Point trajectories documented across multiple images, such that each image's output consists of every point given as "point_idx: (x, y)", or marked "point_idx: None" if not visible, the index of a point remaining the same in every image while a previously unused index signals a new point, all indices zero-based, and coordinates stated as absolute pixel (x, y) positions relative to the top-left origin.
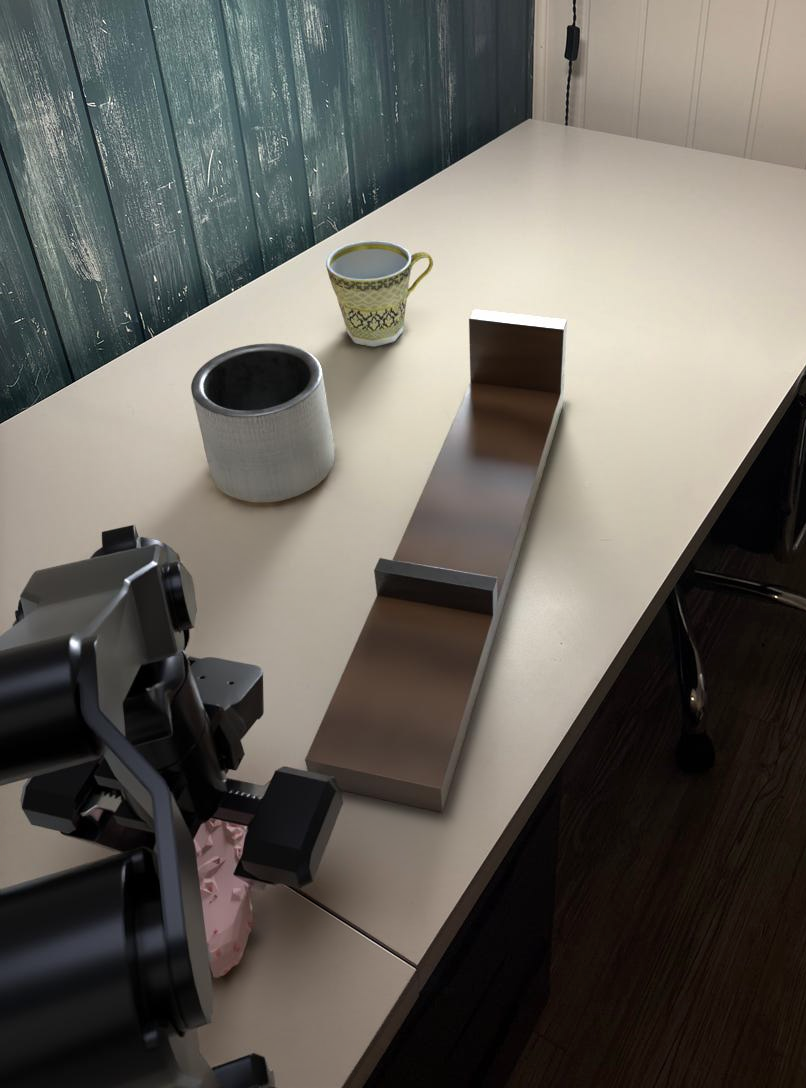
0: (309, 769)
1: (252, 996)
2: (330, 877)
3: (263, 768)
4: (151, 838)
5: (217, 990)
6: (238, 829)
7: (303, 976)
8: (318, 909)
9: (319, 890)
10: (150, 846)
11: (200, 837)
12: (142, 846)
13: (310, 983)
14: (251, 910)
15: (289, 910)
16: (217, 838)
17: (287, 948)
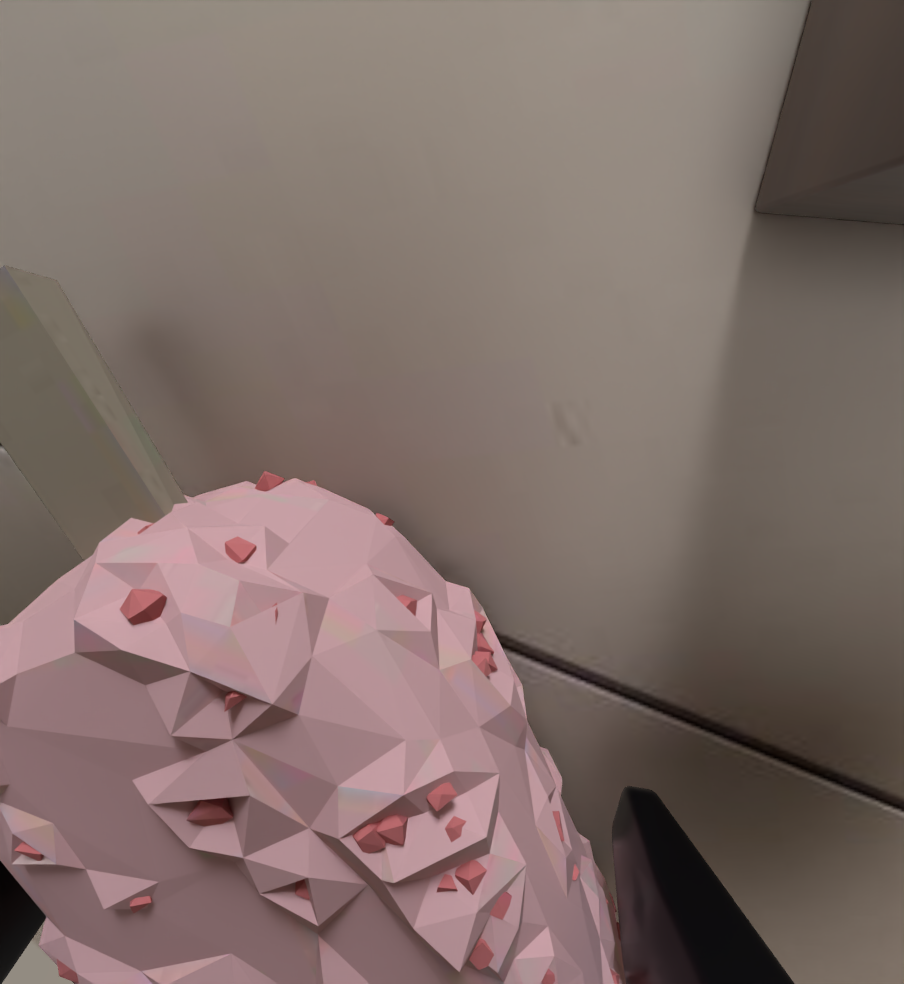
0: (889, 181)
1: None
2: (890, 694)
3: (416, 144)
4: None
5: None
6: (493, 894)
7: (792, 946)
8: (837, 795)
9: (839, 739)
10: None
11: (271, 952)
12: (3, 931)
13: (817, 959)
14: (595, 871)
15: (718, 798)
16: (379, 951)
17: (727, 889)
